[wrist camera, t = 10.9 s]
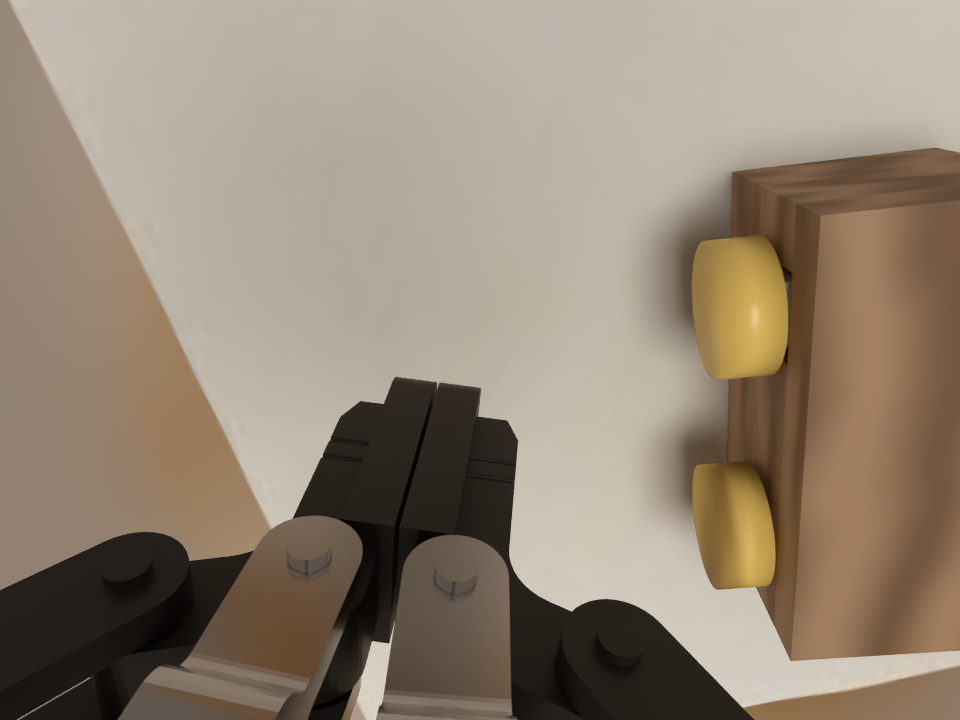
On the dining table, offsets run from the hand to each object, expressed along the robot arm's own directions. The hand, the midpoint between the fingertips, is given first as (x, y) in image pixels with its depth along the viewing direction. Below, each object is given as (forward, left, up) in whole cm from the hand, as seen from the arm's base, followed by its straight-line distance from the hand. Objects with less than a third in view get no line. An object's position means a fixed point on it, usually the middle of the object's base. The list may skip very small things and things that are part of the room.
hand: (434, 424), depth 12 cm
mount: (+20, +1, -27) cm, 33 cm away
